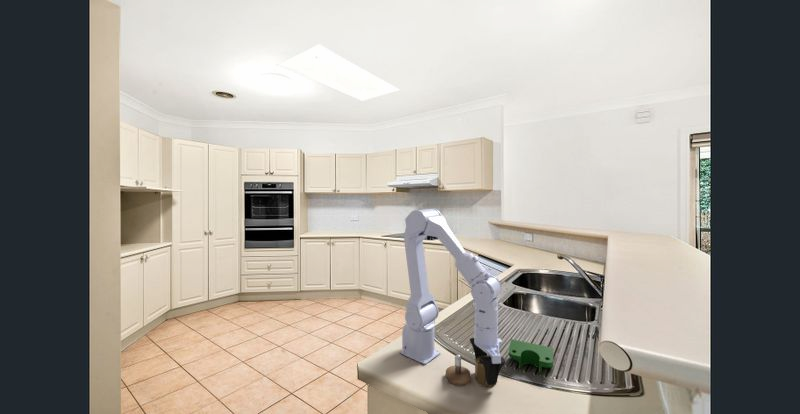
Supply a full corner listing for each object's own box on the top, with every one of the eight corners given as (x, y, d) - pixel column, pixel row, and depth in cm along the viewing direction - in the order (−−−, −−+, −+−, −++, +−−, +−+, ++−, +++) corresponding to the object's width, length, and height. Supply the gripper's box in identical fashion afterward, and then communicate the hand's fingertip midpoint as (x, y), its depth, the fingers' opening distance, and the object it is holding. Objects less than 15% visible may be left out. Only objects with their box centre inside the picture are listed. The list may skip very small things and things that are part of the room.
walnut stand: (441, 378, 80) (441, 373, 80) (453, 367, 85) (453, 362, 85) (462, 389, 76) (462, 383, 76) (474, 377, 81) (474, 371, 81)
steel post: (453, 372, 80) (453, 355, 80) (456, 370, 82) (456, 352, 81) (459, 375, 79) (459, 357, 79) (462, 372, 80) (462, 354, 80)
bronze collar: (472, 380, 79) (472, 362, 79) (481, 371, 83) (481, 353, 83) (491, 389, 76) (491, 369, 76) (499, 379, 80) (499, 360, 79)
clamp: (516, 381, 86) (501, 354, 85) (518, 365, 91) (505, 339, 90) (560, 379, 79) (545, 349, 79) (560, 362, 84) (546, 334, 84)
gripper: (513, 336, 72) (513, 392, 72) (491, 311, 86) (491, 358, 87) (484, 338, 71) (484, 394, 72) (466, 312, 86) (466, 359, 86)
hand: (486, 374), depth 79 cm, fingers open, 7 cm apart
